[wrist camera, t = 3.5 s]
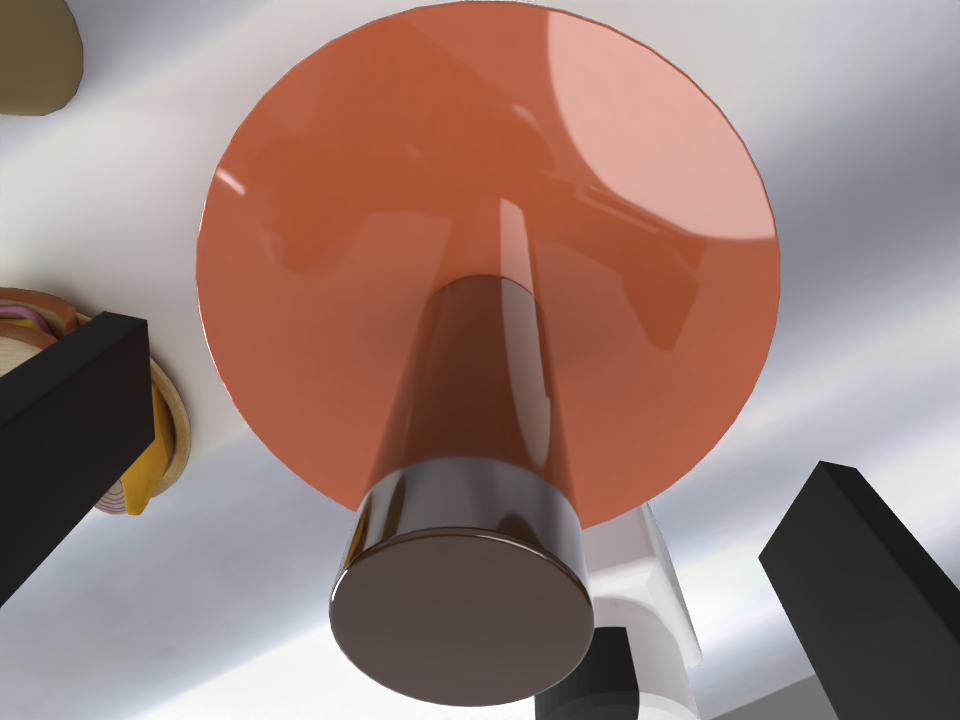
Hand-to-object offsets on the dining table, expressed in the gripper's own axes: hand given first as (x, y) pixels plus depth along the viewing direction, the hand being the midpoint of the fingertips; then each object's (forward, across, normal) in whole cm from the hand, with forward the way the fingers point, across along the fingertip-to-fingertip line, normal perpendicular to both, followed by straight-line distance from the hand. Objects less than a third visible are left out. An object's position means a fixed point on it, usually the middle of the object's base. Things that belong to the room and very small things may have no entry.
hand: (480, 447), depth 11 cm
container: (+16, +9, -16) cm, 24 cm away
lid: (+6, 0, 0) cm, 6 cm away
